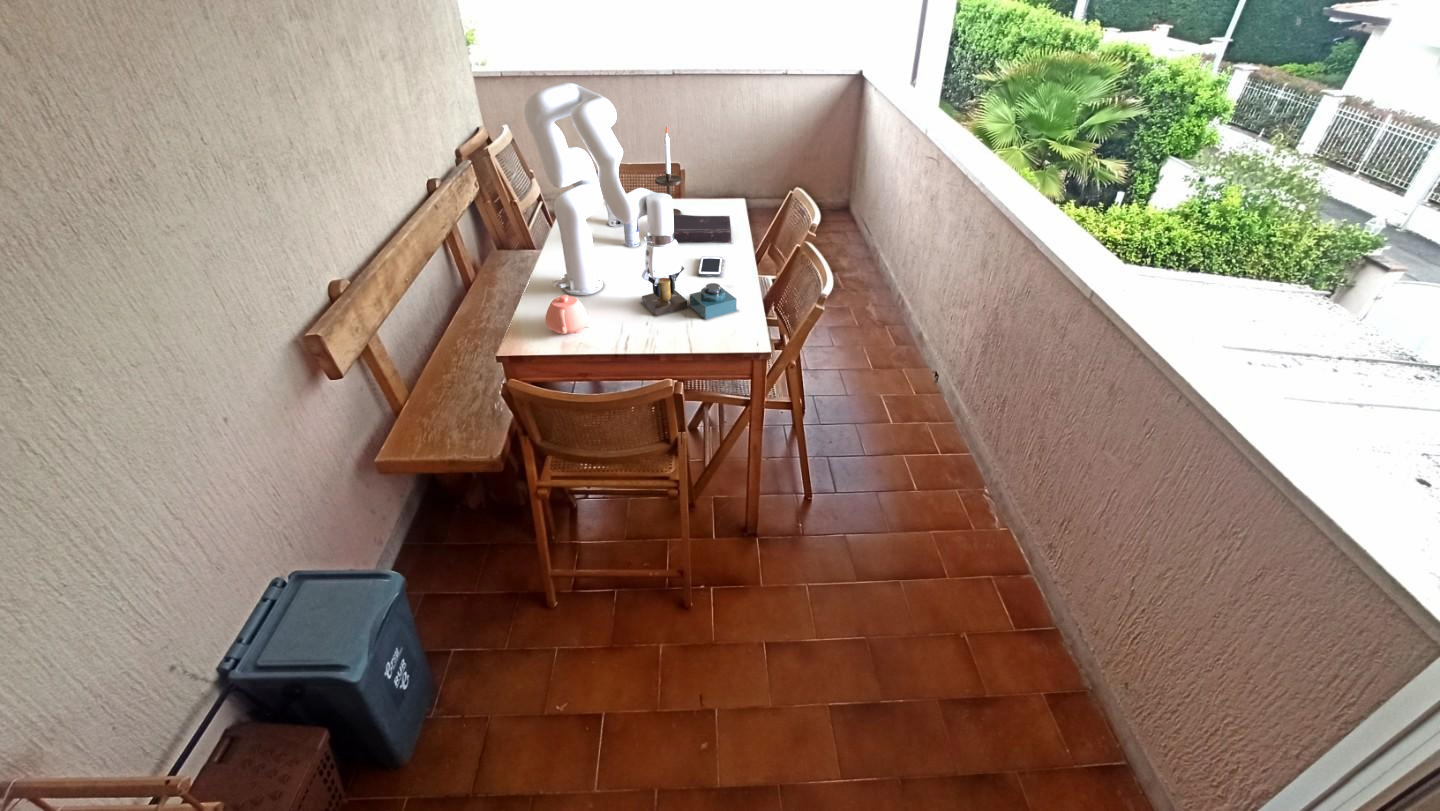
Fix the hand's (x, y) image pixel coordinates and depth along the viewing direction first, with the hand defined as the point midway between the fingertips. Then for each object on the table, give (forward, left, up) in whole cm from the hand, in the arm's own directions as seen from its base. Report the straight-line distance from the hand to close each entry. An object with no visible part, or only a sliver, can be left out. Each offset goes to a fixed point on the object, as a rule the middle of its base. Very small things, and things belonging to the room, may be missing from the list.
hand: (664, 293), depth 199 cm
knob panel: (0, 0, -4) cm, 4 cm away
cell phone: (+26, +17, -4) cm, 32 cm away
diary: (+37, +46, -4) cm, 60 cm away
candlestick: (+38, +72, -4) cm, 82 cm away
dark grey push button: (+12, -9, +1) cm, 15 cm away
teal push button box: (+12, -9, -4) cm, 16 cm away
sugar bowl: (-32, +1, -4) cm, 32 cm away
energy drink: (+11, +50, -4) cm, 51 cm away
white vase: (+14, +73, -4) cm, 75 cm away
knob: (0, 0, -2) cm, 2 cm away
